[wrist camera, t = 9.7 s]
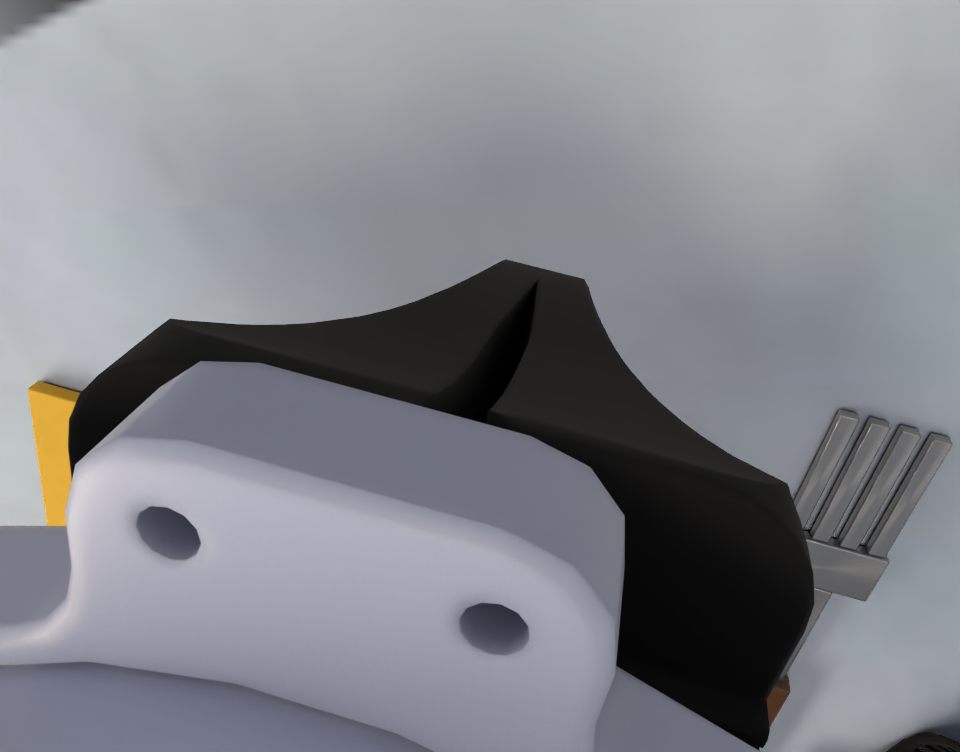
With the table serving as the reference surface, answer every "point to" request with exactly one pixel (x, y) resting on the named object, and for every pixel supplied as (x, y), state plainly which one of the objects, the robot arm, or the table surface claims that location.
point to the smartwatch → (926, 744)
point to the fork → (857, 514)
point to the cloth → (53, 445)
